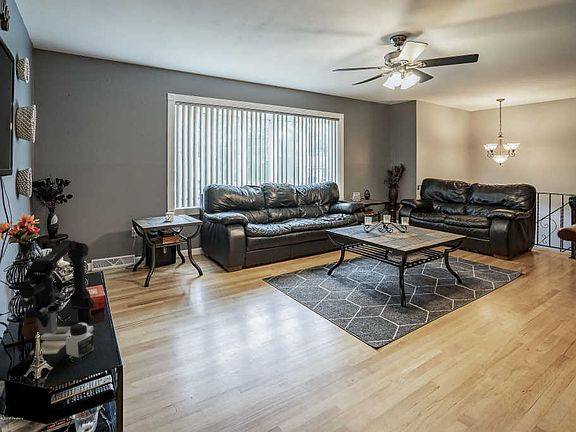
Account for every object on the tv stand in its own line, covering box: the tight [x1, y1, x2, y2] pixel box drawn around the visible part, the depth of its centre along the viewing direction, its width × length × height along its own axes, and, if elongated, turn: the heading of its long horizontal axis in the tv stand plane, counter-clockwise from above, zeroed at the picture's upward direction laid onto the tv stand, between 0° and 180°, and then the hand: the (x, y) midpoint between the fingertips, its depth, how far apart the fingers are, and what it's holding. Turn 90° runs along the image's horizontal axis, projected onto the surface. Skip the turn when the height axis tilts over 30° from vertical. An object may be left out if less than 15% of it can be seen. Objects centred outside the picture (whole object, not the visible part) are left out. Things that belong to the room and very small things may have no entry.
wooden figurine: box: [21, 306, 39, 340], centre depth 151 cm, size 7×6×15 cm
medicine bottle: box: [65, 322, 95, 359], centre depth 141 cm, size 7×7×12 cm
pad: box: [29, 340, 66, 356], centre depth 144 cm, size 10×10×1 cm
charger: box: [37, 309, 58, 335], centre depth 142 cm, size 4×5×10 cm
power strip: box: [40, 325, 94, 341], centre depth 155 cm, size 9×18×3 cm, turn 97°
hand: (47, 324), depth 143 cm, fingers closed on charger, 4 cm apart
